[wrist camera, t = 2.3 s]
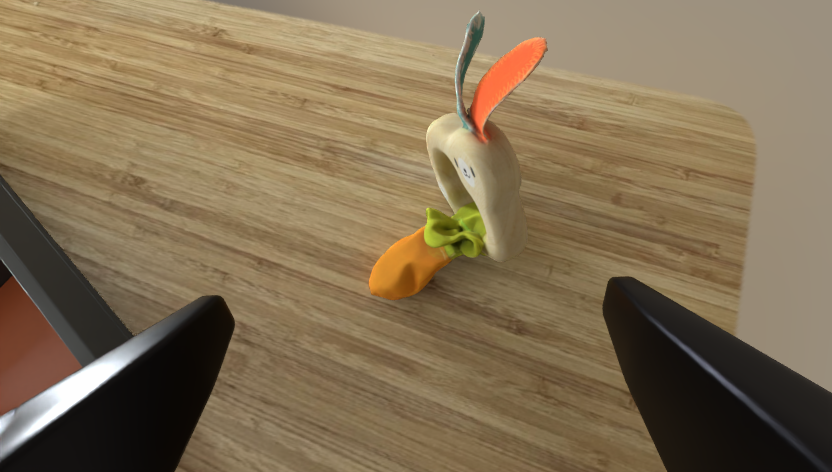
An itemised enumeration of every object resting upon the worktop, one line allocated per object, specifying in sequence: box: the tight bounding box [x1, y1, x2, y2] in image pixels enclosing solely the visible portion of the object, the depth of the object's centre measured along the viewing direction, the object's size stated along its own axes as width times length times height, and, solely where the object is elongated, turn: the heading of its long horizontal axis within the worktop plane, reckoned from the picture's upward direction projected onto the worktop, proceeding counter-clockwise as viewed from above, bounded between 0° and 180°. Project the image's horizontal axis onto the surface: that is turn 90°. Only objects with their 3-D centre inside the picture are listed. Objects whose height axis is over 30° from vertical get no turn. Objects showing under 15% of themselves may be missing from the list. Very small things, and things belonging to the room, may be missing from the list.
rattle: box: [369, 10, 548, 300], centre depth 15 cm, size 8×8×12 cm
